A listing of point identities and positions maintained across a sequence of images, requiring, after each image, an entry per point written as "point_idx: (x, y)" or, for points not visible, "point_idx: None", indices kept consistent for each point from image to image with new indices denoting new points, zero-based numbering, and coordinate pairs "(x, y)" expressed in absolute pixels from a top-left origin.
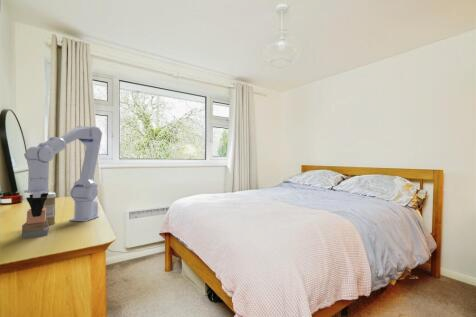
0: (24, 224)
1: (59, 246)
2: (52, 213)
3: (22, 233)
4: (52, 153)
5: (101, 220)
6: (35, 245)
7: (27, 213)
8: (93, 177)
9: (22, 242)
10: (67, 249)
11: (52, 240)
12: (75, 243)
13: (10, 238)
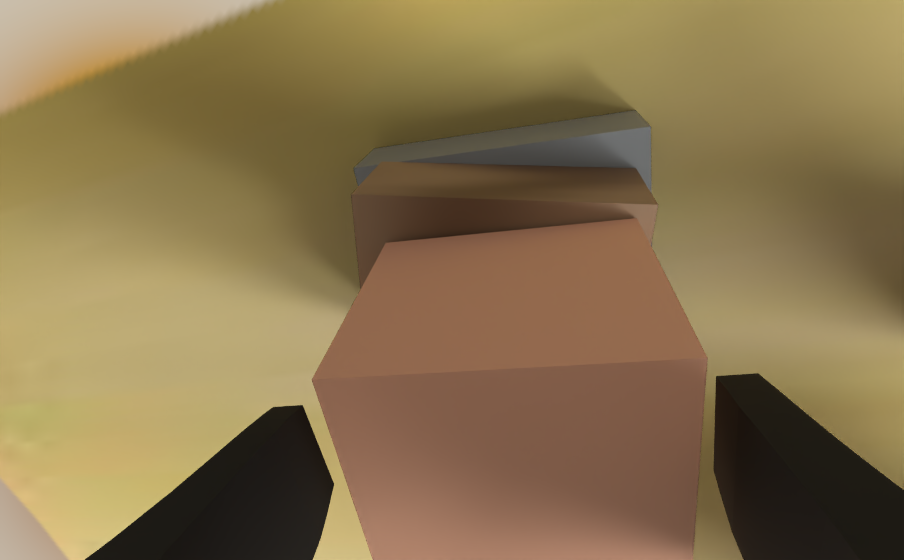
0: (405, 210)
1: (79, 453)
2: None
3: (357, 170)
4: None
5: None
6: (118, 316)
7: (329, 357)
8: None
9: (224, 195)
10: (20, 490)
11: (229, 406)
12: (130, 522)
13: (428, 7)
